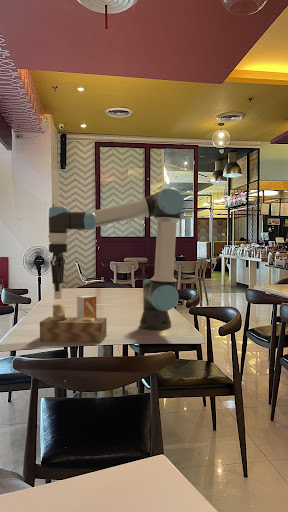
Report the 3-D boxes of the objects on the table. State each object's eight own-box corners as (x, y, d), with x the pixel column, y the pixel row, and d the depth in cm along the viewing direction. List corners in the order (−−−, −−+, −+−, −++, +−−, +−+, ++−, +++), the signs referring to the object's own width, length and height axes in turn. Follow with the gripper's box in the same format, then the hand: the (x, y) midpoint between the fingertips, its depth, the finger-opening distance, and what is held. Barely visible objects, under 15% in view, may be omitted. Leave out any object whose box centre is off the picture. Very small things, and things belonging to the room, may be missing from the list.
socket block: (106, 336, 176) (106, 317, 176) (101, 342, 165) (101, 323, 165) (48, 334, 179) (48, 316, 178) (39, 341, 168) (39, 322, 168)
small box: (84, 323, 203) (83, 297, 202) (76, 321, 207) (76, 296, 207) (96, 321, 208) (96, 296, 208) (89, 319, 213) (89, 294, 212)
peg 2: (96, 336, 174) (95, 318, 173) (93, 339, 169) (93, 320, 168) (84, 336, 174) (84, 317, 174) (81, 339, 169) (81, 320, 169)
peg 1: (66, 322, 175) (66, 304, 174) (63, 324, 170) (62, 306, 169) (55, 322, 175) (54, 304, 175) (51, 324, 170) (51, 305, 170)
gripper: (54, 243, 178) (54, 296, 179) (44, 243, 165) (44, 300, 166) (70, 243, 177) (70, 296, 178) (62, 243, 164) (62, 301, 165)
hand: (58, 298), depth 172 cm, fingers closed
